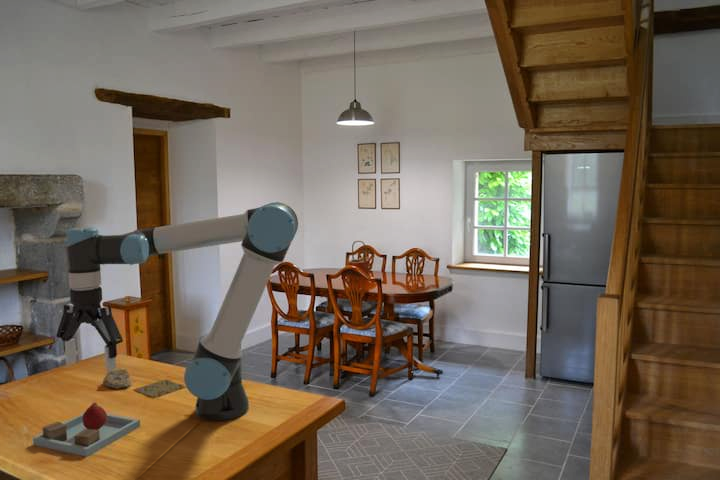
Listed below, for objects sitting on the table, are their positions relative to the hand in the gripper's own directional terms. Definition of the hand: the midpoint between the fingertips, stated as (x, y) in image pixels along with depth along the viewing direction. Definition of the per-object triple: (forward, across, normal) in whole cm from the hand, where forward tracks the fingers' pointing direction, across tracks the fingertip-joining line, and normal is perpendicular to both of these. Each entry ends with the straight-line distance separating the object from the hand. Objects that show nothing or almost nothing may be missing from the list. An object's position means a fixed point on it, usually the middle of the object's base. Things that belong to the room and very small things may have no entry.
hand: (90, 366), depth 150 cm
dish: (+18, 0, +2) cm, 19 cm away
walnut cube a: (+18, -5, +8) cm, 20 cm away
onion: (+18, 0, 0) cm, 18 cm away
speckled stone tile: (+19, +6, -32) cm, 38 cm away
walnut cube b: (+18, +6, +8) cm, 20 cm away
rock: (+19, +22, -30) cm, 42 cm away
